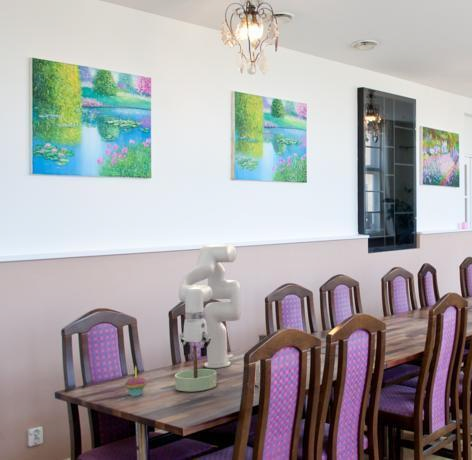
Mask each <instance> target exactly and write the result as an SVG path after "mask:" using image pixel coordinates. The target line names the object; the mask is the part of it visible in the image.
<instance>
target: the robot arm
mask: <svg viewBox="0 0 472 460" xmlns="http://www.w3.org/2000/svg"><path fill="white" fill-rule="evenodd" d="M236 259H237V248H236V247H235V246H234V245H232V244H206V245H203V246H202V247H201V248H200V250H199V253H198V257H197V260H196V264H195V267H194V268H193V269H191V270H189V271H188V272H187V273H186V274H185V275H184V276H183V277H182V279H181V282H180V285H179V288H178V299H179V300H180V302H182V303H184V305H185V307H184V308H185V309H184V310H185V311H184V312H185V315H184V317H185V318H184V323H183V332H181V333H180V334H179V335H178V337H179V339H180V342H181V343H182V346H183V356H187V355H190V354H191V344H190V343H193V344H199V345H200V357H201V358H204V357H206V358H207V362H205V363H204V365H203V366H204V367H205V368H206V369H222V368H226V367H229V366H230V365H231V361H230V359H233V358H234V355H233V354H228V333H227V330H228V329H227V328H226V325H225V324H224V323H223V322H236V321H239V320H240V318H241V315H242V291H241V284H240V282H239V281H238V280H236V279H227V278H226V268H225V267H224V265H223V264H222V263H233V262H235V261H236ZM204 280H207V285H206V284H197V283H199V282H203V281H204ZM211 299H212V300H230V301H213V302H209V301H211ZM206 302H208V303H207V304H206V305H205V306H204V303H206Z"/></svg>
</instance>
